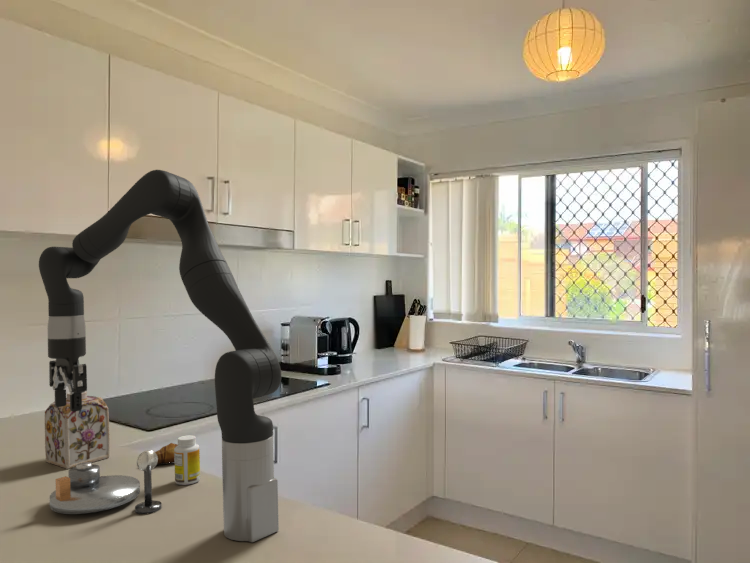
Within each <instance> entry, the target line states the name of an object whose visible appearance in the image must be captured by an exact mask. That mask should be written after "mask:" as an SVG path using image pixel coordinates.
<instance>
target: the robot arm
mask: <svg viewBox="0 0 750 563" xmlns="http://www.w3.org/2000/svg"><path fill="white" fill-rule="evenodd" d="M203 206H204V205H203V204H202V200H201V197H200V195H199V193H198V190H197V188H196V186H194V184H193V183H192V182H191V181H189V180H188V179H186V178H184V177H182V176H179V175H177V174H174V173H172V172H169V171H168V170H167V171H166V170H163V169H162V170H161V169H153V170H150V171H148V172H147V173H145V174H144V175H143V176H142V177H140V178H139V179H138V180H137V181H136V182H135V183H134V184H133V185H132V186H131V187H130V189H128V190H127V191H126V193H125V194H124V195H123V196H121V198H120V199H119V200H117V202H116V203H115V204H114V205H113V206H112V207H111V208H110V209H109V210H108V211H107V212H106V213H105V214H103V216H102V217H100V218H99V219H97V221H94V223H92V224H90V225H89V226H87V227H85V229H83V230H82V231H80V232H79V233H77V235H76V236H74V237H73V239H72V243H71V244H72V247H68V246H65V247H64V246H50V247H47V248H45V249H44V250H43V251H42V252H41V254H40V255H39V259H38V269H39V273H40V277H41V280H42V283H43V286H44V290H45V292H46V295H47V299H48V300H47V301H48V307H47V308H48V310H47V312H48V320H47V358H49V359H52V360H50V361H49V362H48V363H49V364H48V365H49V367H48V368H49V370H48V371H49V372H48V373H49V376H48V377H49V378H48V379H49V387H52V390H53V391H54V402H55V406H56V407H62V406H65V405H66V398H67V389H68V393H69V392H70V411H72V412H75V411H80V410H81V409H82V393H83V392H84V391H86V392H87V391H88V379H87V378H88V376H87V375H88V374H87V373H88V372H87V364H86V363H81V364H80V359H79V358H83V357H84V356H86V354H87V347H86V346H87V340H86V338H87V337H86V334H87V333H86V320H85V301H84V293H83V292H82V291H81V290H79V289H76V288H72V287H71V286H70V285H69V282H68V280H67V279H79V278H82V277H83V278H84V277H85V276H88V275H89V274H90V273H91V272H92V271H93V270H94V269H95V267H96V266H97V265H98V263H99V262H100V261H101V259H104V258H105V257H106V256H108V255H109V254H110V253H112V252H114V251H116V249H117V250H118V249H119V247H121V246H122V244H124V242H125V241H126V238H127V237H128V234H129V231H130V228H131V226H132V224H133V223H135V222H136V221H137V220H139V219H141V218H144V217H145V216H148V215H154V216H156V217H157V216H158V217H162V218H164V219H167V220H170V222H171V223H172V224H173V226H174V228H175V230H176V232H177V234H178V237H179V238H180V241H181V253H180V256H179V258H180V259H179V266H178V269H179V274H180V278H181V281H182V284H183V286H184V289H185V290H186V293H187V295H188V297H189V299H190V301H191V303H192V304H193V306H194V307H195V308H196V309H197V310H198V311H199V312H200V313H201V314H202V315H203V316H204V317H205V318H207V320H209V321H210V322H211V323H212V324H213V325H215V326H216V327H217V328H218V329H219V330H221V331H222V332H223V333H224V334H225V336H226V337H227V339H229V341H230V343H231V344H232V346H233V347H234V350H230V351H228V352H225V353H223V354H222V355H221V356H219V359H218V360H217V362H216V366H215V370H214V389H215V390H214V391H215V393H214V394H215V403H216V418H217V422H218V425H219V427H220V431H221V432H220V433H221V461H222V462H221V464H222V466H221V467H222V468H221V469H222V470H221V471H222V475H221V476H222V507H223V508H222V510H223V511H222V512H223V515H222V516H223V535H224V536H225V537H226V538H227V539H229V540H232V541H237V542H238V541H239V542H249V543H254V542H256V541H260V540H262V539H263V538H265V537H268V536H270V535H272V534H274V533H276V532H279V529H280V528H279V527H280V526H279V494H278V493H279V490H278V489H279V487H278V486H279V485H278V484H279V483H278V482H279V481H278V479H277V478H276V477H275V467H274V464H275V463H274V462H275V461H274V459H275V457H274V425H273V421H272V419H271V418H270V417H267V416H264V415H258V414H257V413H256V411H255V408H254V406H255V405H254V399H257V398H262V397H266V396H269V395H272V394H273V393H275V392H276V391H277V390H278V389H279V387H280V386H281V383H282V370H281V365H280V363H279V359H278V357H277V355H276V354H275V351H274V350H273V348H272V346H271V345H270V343H269V342H268V339H266V336H265V335H264V333H263V332H262V330H261V329H260V327H259V325H258V324H257V322H256V320H255V318H254V317H253V315H252V313H251V310H250V309H249V307H248V305H247V303H246V301H245V299H244V297H243V295H242V293H241V291H240V289H239V287H238V284H237V282H236V280H235V278H234V275H233V273H232V270H231V269H230V267H229V265H228V262H227V260H226V259H225V256H224V255H223V253H222V251H221V249H220V246H219V245H218V242H217V239H216V238H215V236H214V233H213V231H212V229H211V227H210V225H209V224H210V223H209V221H208V220H207V215H206V213H205V210H204V207H203Z"/></svg>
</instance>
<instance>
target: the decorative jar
mask: <svg viewBox="0 0 750 563" xmlns="http://www.w3.org/2000/svg"><path fill="white" fill-rule="evenodd" d="M87 394H88V392H87V391H84V392H83V393H82V409H81V410H80V411H75V412H72V411H70V392H69V391H68V392H66V405H65V406H62V407H56V406H55V401H53V402H52V403H50V404H49V406H48V407H47V408H46V410H45V411H44V445H45V446H44V450H45V461H46V463H49V464H50V465H51V464H52V465H55V466H57V467H61V468H63V469H66V470H70V469H72V468H74V467H76V465H77V464H79V463H83V462H91V463H92V464H93V463H94V462H95V463H96V462H98V461H99V462H100V461H103V460H105V459H108V458H110V451H111V450H110V447H111V446H110V440H111V439H110V417H109V416H110V413H109V407H108V405H107V402H105V401H104V399H103V397H101V396H95V395H93V396H92V395H87Z"/></svg>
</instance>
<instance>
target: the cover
mask: <svg viewBox="0 0 750 563" xmlns="http://www.w3.org/2000/svg"><path fill="white" fill-rule="evenodd" d="M100 467H101V466H100V465H98V464H93V462H92V463H91V462H83V463H79V464H77V465H76V467H73V468H70V469H68V471H67V473H68V477H69V478H70V488H73V489H80V488H87V487H91V486H94V485H96V484H98V483H99V482H100V476H101V473H100V472H101V471H100V470H101V469H100Z"/></svg>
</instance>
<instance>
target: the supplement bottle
mask: <svg viewBox="0 0 750 563" xmlns="http://www.w3.org/2000/svg"><path fill="white" fill-rule="evenodd" d="M177 444H178V446H176V447H175V449H174V461H175V463H174V482H175V484H177V485H180V486H188V485H193V484H196V483H197V482H199V481H200V479H201V460H200V459H201V455H200V454H201V453H200V445H199V444H198V443H197V440H196V436H195V435H189V434H187V435H183V436H179V437H178V438H177Z"/></svg>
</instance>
